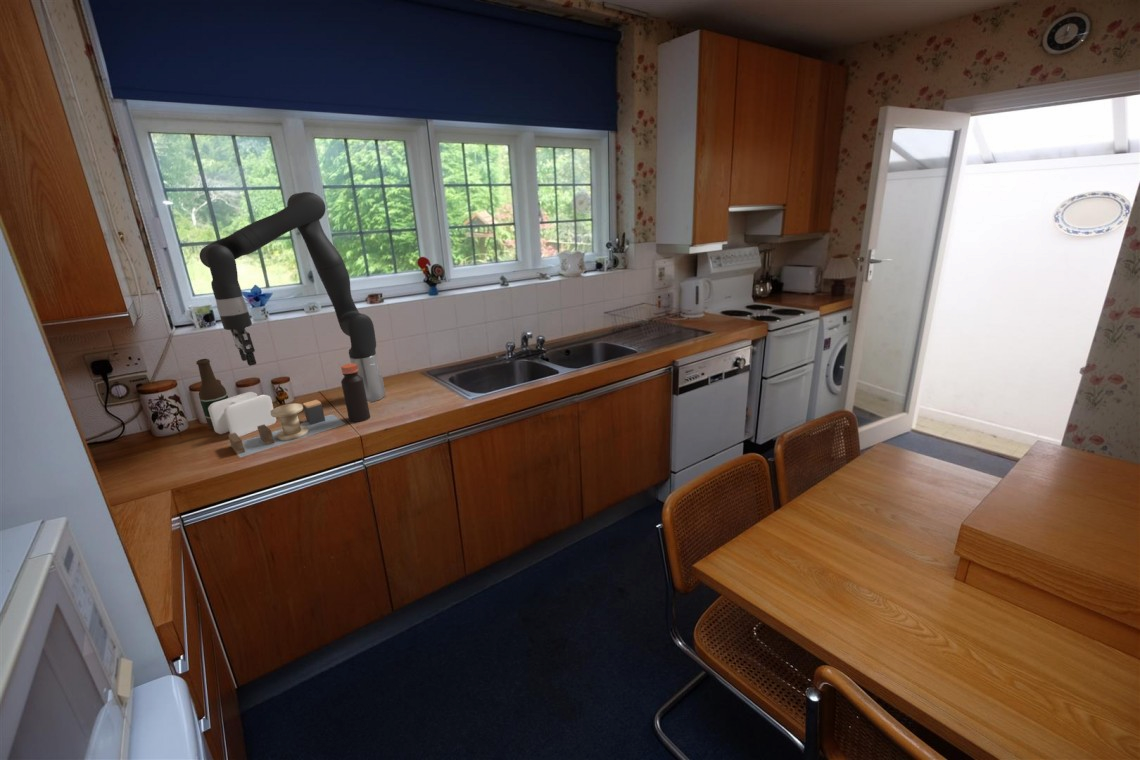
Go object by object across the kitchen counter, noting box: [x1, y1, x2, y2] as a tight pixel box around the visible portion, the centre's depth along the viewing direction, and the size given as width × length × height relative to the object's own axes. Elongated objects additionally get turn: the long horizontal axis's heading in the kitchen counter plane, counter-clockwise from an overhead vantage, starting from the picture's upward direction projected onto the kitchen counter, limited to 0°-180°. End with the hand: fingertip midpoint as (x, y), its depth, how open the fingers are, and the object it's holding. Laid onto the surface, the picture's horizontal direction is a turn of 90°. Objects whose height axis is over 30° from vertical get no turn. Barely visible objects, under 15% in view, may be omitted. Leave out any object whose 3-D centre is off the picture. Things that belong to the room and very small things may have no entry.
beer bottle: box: [196, 358, 229, 431], centre depth 168 cm, size 8×8×24 cm
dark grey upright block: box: [302, 399, 325, 425], centre depth 168 cm, size 4×4×7 cm
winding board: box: [236, 414, 347, 459], centre depth 160 cm, size 31×13×1 cm, turn 134°
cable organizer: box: [208, 391, 277, 438], centre depth 165 cm, size 15×11×12 cm
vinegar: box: [340, 362, 371, 424], centre depth 167 cm, size 7×7×20 cm
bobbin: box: [270, 403, 309, 441], centre depth 158 cm, size 9×9×9 cm
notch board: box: [227, 425, 274, 455], centre depth 153 cm, size 10×8×4 cm
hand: (249, 362), depth 157 cm, fingers open, 8 cm apart
